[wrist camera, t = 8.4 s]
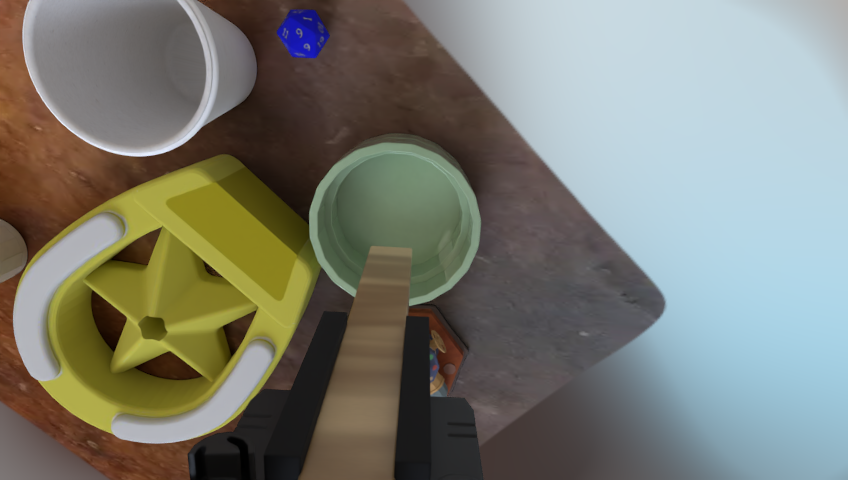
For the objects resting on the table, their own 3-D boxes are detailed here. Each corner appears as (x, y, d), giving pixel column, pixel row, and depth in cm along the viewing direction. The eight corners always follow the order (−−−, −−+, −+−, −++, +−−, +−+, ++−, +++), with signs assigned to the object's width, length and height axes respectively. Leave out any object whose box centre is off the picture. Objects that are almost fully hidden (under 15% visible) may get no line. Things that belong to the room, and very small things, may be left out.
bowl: (324, 128, 32) (307, 137, 28) (479, 137, 33) (488, 148, 28) (325, 271, 36) (310, 302, 31) (466, 279, 36) (472, 311, 31)
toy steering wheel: (368, 279, 36) (359, 311, 31) (188, 446, 40) (157, 495, 36) (182, 108, 32) (140, 114, 27) (7, 312, 37) (-55, 348, 32)
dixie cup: (269, 145, 33) (206, 175, 23) (139, 115, 32) (20, 134, 23) (287, 8, 30) (225, -21, 21) (146, -27, 30) (16, -73, 20)
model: (358, 445, 40) (340, 549, 32) (284, 362, 38) (242, 450, 29) (485, 371, 38) (503, 461, 29) (415, 278, 36) (412, 346, 27)
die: (288, 60, 31) (260, 28, 29) (310, 25, 32) (284, -9, 29) (321, 74, 30) (295, 43, 28) (343, 38, 31) (320, 4, 28)
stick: (370, 245, 24) (277, 539, 9) (412, 247, 24) (391, 545, 9) (369, 283, 25) (280, 620, 10) (410, 285, 25) (387, 625, 10)
